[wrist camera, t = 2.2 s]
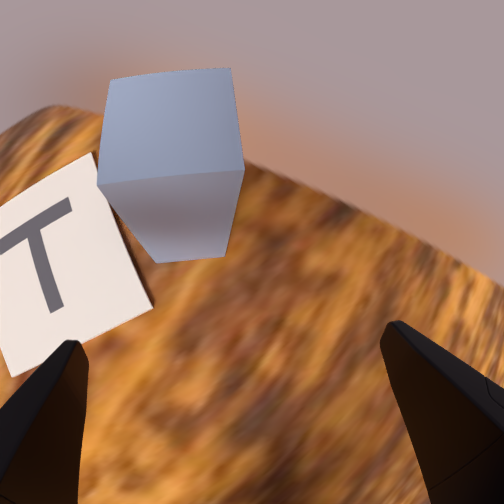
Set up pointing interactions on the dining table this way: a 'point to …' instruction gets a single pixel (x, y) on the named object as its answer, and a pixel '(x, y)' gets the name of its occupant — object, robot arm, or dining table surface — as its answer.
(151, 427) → the dining table surface
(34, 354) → the letter tile
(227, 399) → the dining table surface
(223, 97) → the slate blue block
